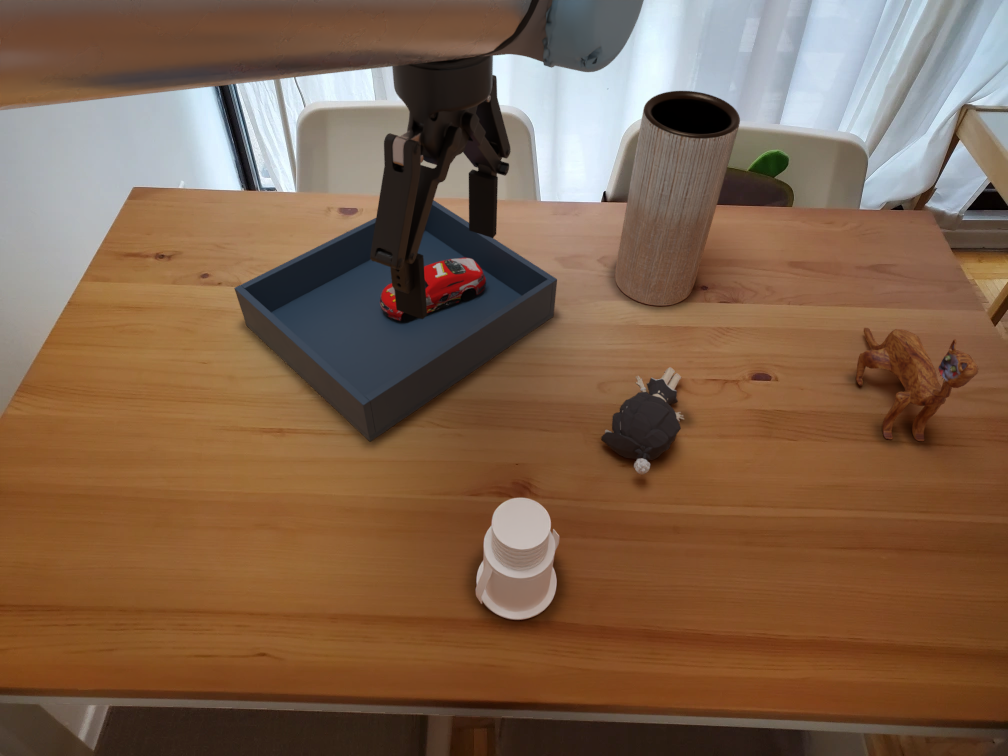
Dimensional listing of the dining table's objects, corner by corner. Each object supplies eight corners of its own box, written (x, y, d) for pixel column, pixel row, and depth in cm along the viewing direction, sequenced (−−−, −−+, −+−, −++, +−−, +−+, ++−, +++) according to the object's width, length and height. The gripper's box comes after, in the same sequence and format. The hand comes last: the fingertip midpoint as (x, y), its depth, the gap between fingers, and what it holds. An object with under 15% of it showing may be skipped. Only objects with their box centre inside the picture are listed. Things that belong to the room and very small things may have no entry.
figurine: (634, 365, 81) (579, 451, 71) (671, 335, 76) (617, 423, 66) (680, 406, 81) (632, 497, 71) (719, 378, 76) (674, 472, 66)
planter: (686, 257, 95) (730, 91, 78) (699, 308, 88) (750, 137, 72) (611, 255, 95) (638, 88, 78) (617, 306, 88) (649, 134, 72)
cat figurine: (833, 334, 86) (880, 240, 76) (889, 336, 86) (943, 243, 76) (878, 455, 74) (941, 363, 64) (943, 459, 74) (1017, 367, 63)
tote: (370, 442, 73) (363, 405, 69) (246, 325, 84) (233, 287, 80) (553, 316, 87) (557, 279, 82) (426, 230, 98) (423, 193, 93)
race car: (391, 329, 83) (387, 303, 80) (373, 302, 87) (369, 276, 84) (491, 295, 88) (492, 270, 85) (471, 270, 91) (471, 244, 88)
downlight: (530, 531, 67) (536, 468, 59) (576, 590, 63) (589, 530, 56) (456, 575, 64) (453, 514, 56) (501, 640, 60) (504, 584, 52)
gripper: (393, 125, 44) (414, 367, 59) (556, -5, 59) (539, 214, 75) (293, 96, 46) (339, 337, 61) (476, -22, 61) (476, 194, 77)
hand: (449, 270), depth 68 cm, fingers open, 13 cm apart
